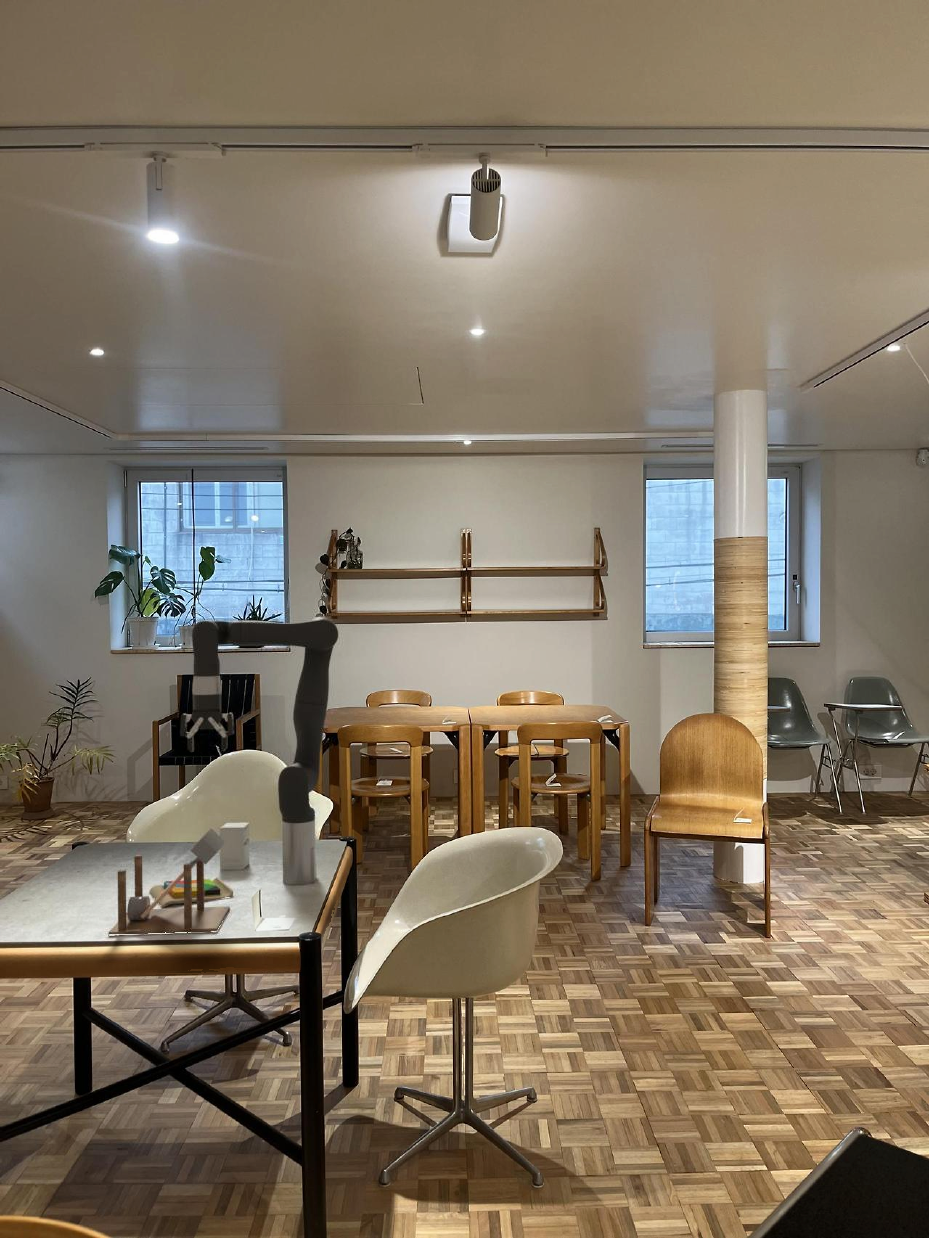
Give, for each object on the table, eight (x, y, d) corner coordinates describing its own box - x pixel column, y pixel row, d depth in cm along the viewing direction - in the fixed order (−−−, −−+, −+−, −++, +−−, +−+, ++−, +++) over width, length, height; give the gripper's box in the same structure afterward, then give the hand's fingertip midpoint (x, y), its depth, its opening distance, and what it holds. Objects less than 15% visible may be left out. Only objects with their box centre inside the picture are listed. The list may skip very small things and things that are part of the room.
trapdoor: (226, 841, 233) (211, 827, 233) (216, 852, 221) (201, 838, 221) (161, 908, 232) (146, 894, 232) (148, 923, 220) (132, 909, 220)
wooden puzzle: (234, 899, 247) (234, 886, 247) (162, 910, 238) (162, 897, 238) (217, 883, 262) (217, 871, 262) (148, 894, 253) (148, 881, 253)
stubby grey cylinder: (150, 893, 228) (133, 893, 228) (144, 900, 223) (127, 901, 222) (150, 915, 229) (134, 916, 228) (144, 923, 223) (127, 924, 223)
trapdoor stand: (229, 910, 236) (229, 847, 236) (217, 932, 219) (216, 864, 219) (129, 913, 234) (128, 850, 234) (108, 936, 217) (107, 868, 217)
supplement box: (244, 869, 275) (243, 827, 275) (219, 870, 275) (218, 827, 275) (250, 863, 282) (249, 822, 282) (226, 863, 282) (225, 822, 282)
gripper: (235, 691, 259) (236, 748, 259) (183, 691, 258) (184, 750, 258) (230, 693, 251) (231, 752, 251) (177, 693, 250) (178, 753, 250)
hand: (207, 751), depth 254 cm, fingers open, 8 cm apart
